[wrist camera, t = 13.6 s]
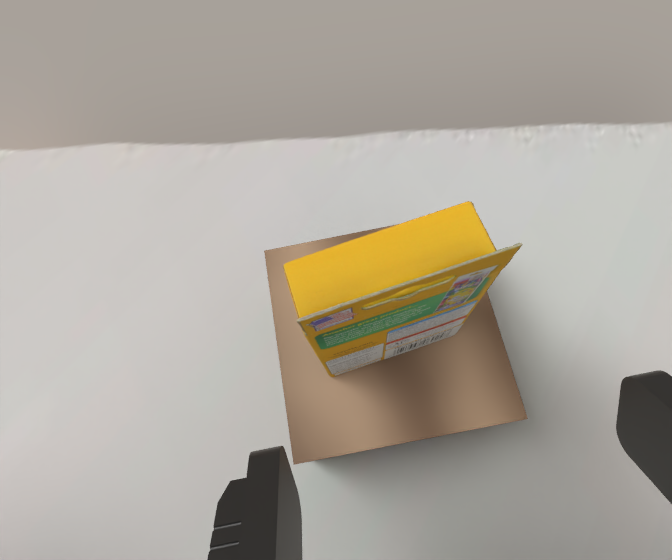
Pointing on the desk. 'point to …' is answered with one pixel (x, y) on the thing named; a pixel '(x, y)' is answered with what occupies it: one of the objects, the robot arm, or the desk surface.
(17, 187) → the desk surface
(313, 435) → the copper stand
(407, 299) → the crayon box
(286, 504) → the robot arm
